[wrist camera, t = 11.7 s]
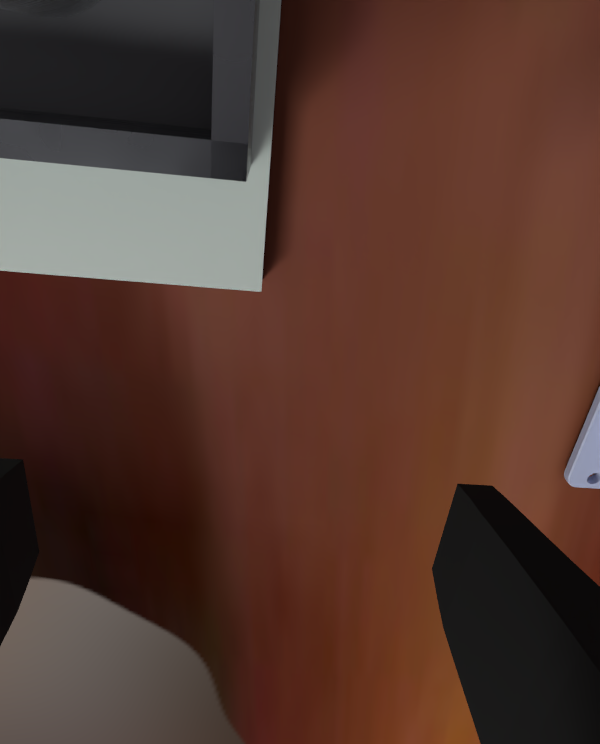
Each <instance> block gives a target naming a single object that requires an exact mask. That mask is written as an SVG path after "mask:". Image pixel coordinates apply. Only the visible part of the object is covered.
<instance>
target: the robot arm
mask: <svg viewBox="0 0 600 744" xmlns="http://www.w3.org/2000/svg"><path fill="white" fill-rule="evenodd" d="M593 473H595V474H594V475H592V476H591V477H589V475H591V474H593ZM564 477H565V479H566V480H567V482H568V483H569V484H570V485H571V486H573V487H581V488H598V489H600V387H599V389H598V392H597V394H596V396H595V399H594V401H593V404H592V406H591V408H590V411H589V413H588V416H587V418H586V421H585V423H584V425H583V428H582V430H581V433H580V435H579V438H578V440H577V442H576V445H575V447H574V450H573V452H572V454H571V457H570V459H569V462H568V464H567V467H566V469H565V472H564ZM38 554H39V548H38V542H37V537H36V531H35V525H34V520H33V514H32V508H31V503H30V497H29V491H28V486H27V480H26V474H25V469H24V463H23V460H20V459H2V458H0V645H1V643H2V641H3V639H4V637H5V635H6V634H7V631H8V630H9V628H10V625H11V623H12V621H13V619H14V617H15V615H16V613H17V611H18V609H19V606H20V603H21V601H22V598H23V595H24V593H25V590H26V587H27V585H28V582H29V579H30V576H31V574H32V571H33V568H34V565H35V562H36V559H37V557H38ZM432 571H433V577H434V582H435V588H436V593H437V599H438V604H439V609H440V613H441V618H442V623H443V628H444V631H445V634H446V637H447V641H448V644H449V647H450V650H451V653H452V656H453V660H454V663H455V666H456V669H457V672H458V675H459V678H460V681H461V685H462V688H463V691H464V694H465V697H466V700H467V703H468V706H469V709H470V712H471V715H472V718H473V721H474V724H475V728H476V731H477V734H478V737H479V740H480V743H481V744H600V587H599V586H598V585H597V584H596V583H595V582H594V581H593V580H592V579H591V578H590V577H588V576H587V575H586V574H585V573H584V572H583V571H582V570H581V569H580V568H579V567H578V566H577V565H576V564H574V563H573V562H572V561H571V560H570V559H569V558H568V557H567V556H566V555H565V554H564V553H563V552H562V551H561V550H560V549H559V548H558V547H556V546H555V545H554V544H553V543H552V542H551V541H550V540H549V539H548V538H547V537H546V536H545V535H544V534H543V533H542V532H541V531H540V530H539V529H538V528H537V527H536V526H535V525H534V524H533V523H531V522H530V521H529V520H528V519H527V518H526V517H525V516H524V515H523V514H522V513H521V512H520V511H519V510H518V509H517V508H516V507H515V506H514V505H513V504H512V503H511V502H510V501H508V500H507V499H506V498H505V497H504V496H503V495H502V494H501V493H500V492H499V491H497V490H496V489H495V488H494V487H493V486H487V485H469V484H457V487H456V491H455V494H454V497H453V501H452V504H451V507H450V511H449V514H448V517H447V521H446V524H445V527H444V531H443V534H442V537H441V541H440V544H439V547H438V551H437V554H436V557H435V561H434V564H433V567H432Z"/></svg>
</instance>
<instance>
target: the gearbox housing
mask: <svg viewBox="0 0 600 744" xmlns="http://www.w3.org/2000/svg"><path fill="white" fill-rule="evenodd" d="M280 14H281V0H101V1H100V2H98V3H97V4H96V5H94V6H93V7H92V8H90V9H87V10H85V11H83V12H81V13H78V14H75V15H72V16H67V17H59V18H47V17H39V16H34V15H29V14H24V13H20V12H15V11H11V10H6V9H1V8H0V271H12V272H24V273H37V274H49V275H61V276H74V277H86V278H98V279H111V280H123V281H135V282H147V283H160V284H172V285H184V286H197V287H209V288H221V289H234V290H246V291H258V292H261V289H262V276H263V262H264V247H265V232H266V218H267V203H268V189H269V174H270V160H271V145H272V130H273V116H274V101H275V87H276V72H277V57H278V43H279V28H280Z"/></svg>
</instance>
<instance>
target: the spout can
mask: <svg viewBox="0 0 600 744" xmlns="http://www.w3.org/2000/svg"><path fill="white" fill-rule="evenodd" d="M100 1H101V0H0V8H1V9H6V10H11V11H15V12H20V13H24V14H29V15H34V16H39V17H47V18H59V17H67V16H72V15H75V14H78V13H81V12H83V11H85V10H87V9H90V8H92V7H93V6H94V5H96V4H97V3H98V2H100Z"/></svg>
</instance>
